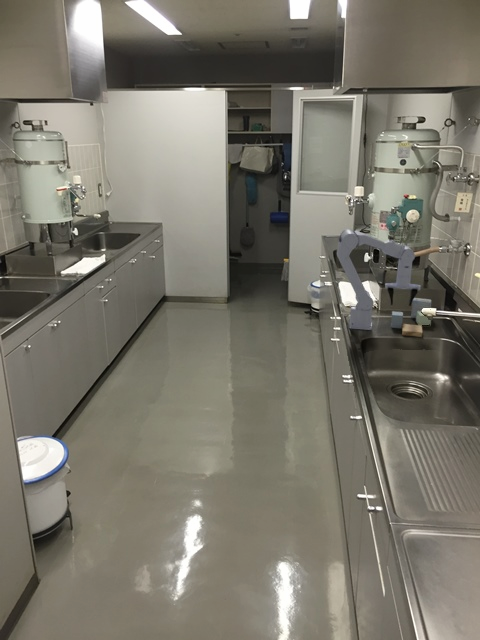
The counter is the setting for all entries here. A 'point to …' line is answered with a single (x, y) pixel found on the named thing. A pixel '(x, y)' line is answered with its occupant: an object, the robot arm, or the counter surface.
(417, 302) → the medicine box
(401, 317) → the blue block
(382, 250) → the robot arm
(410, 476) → the counter surface
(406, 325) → the oak block
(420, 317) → the green block
